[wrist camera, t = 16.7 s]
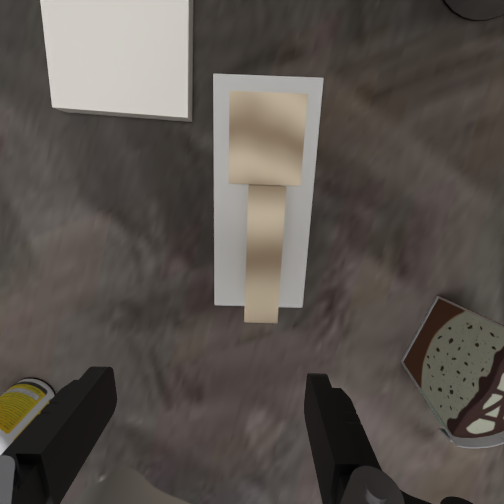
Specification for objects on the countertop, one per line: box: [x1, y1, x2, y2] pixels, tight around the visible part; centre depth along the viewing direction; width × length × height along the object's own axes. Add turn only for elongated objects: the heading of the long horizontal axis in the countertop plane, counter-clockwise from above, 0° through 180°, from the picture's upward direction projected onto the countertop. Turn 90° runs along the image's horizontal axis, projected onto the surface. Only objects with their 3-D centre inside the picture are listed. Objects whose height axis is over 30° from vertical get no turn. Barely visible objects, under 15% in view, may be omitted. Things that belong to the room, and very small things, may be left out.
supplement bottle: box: [0, 379, 55, 455], centre depth 29 cm, size 5×5×10 cm
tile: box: [40, 0, 193, 122], centre depth 23 cm, size 12×2×10 cm
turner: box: [229, 91, 308, 323], centre depth 24 cm, size 20×7×6 cm, turn 178°
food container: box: [400, 295, 504, 448], centre depth 27 cm, size 12×6×10 cm, turn 162°
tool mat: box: [213, 74, 324, 308], centre depth 27 cm, size 10×23×1 cm, turn 178°
